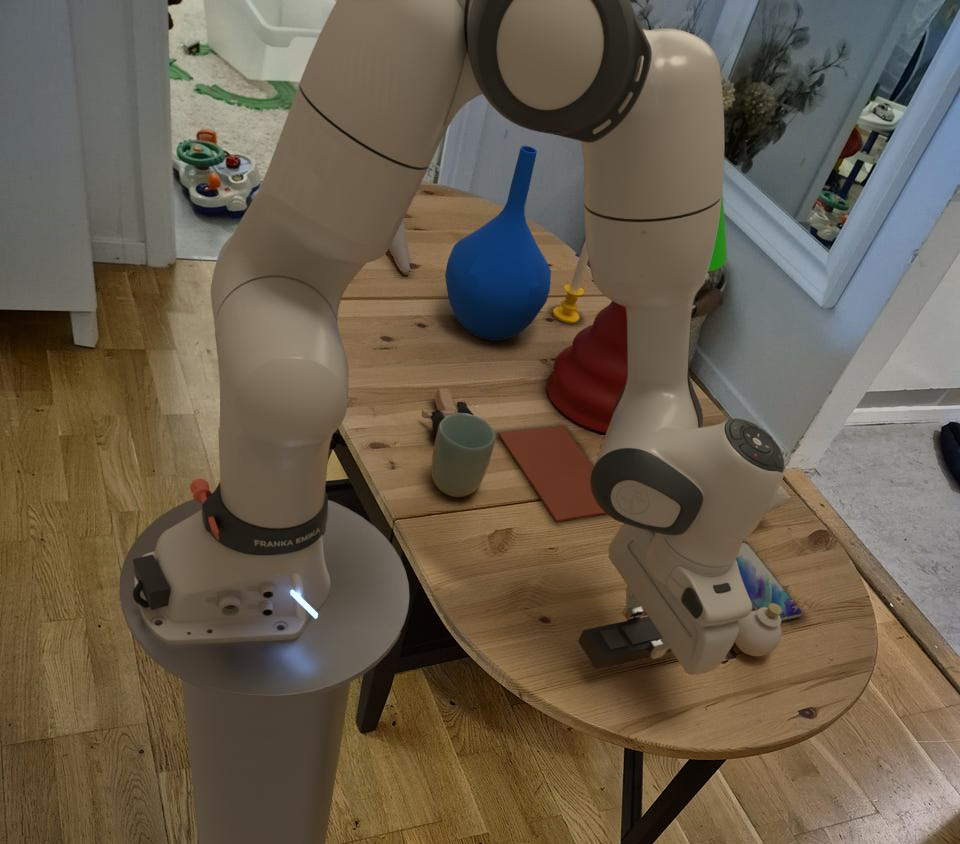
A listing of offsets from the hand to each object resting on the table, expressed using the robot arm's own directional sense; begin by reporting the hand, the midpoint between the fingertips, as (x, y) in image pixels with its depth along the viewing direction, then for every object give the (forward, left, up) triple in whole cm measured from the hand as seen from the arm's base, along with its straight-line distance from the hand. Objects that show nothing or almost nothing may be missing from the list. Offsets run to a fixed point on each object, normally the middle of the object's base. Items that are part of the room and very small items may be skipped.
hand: (641, 635), depth 101 cm
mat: (+9, +35, -5) cm, 37 cm away
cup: (-9, +35, -5) cm, 37 cm away
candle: (+33, +77, -5) cm, 84 cm away
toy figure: (-5, +47, -5) cm, 48 cm away
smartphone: (+27, +7, -5) cm, 28 cm away
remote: (0, 0, -2) cm, 2 cm away
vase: (+15, +75, -5) cm, 77 cm away
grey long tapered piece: (+9, +105, -5) cm, 106 cm away
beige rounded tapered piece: (+33, +23, -5) cm, 40 cm away
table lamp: (+26, +51, -5) cm, 57 cm away
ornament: (+19, -3, -5) cm, 19 cm away
